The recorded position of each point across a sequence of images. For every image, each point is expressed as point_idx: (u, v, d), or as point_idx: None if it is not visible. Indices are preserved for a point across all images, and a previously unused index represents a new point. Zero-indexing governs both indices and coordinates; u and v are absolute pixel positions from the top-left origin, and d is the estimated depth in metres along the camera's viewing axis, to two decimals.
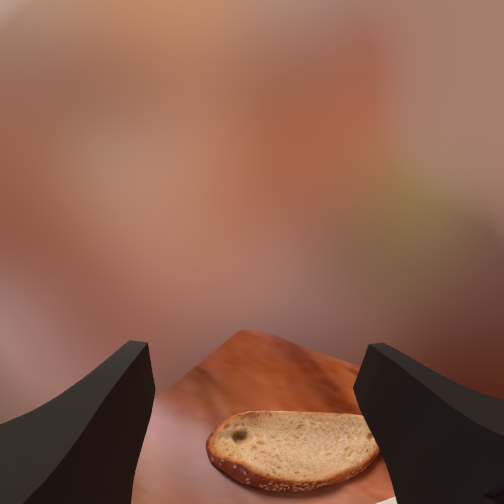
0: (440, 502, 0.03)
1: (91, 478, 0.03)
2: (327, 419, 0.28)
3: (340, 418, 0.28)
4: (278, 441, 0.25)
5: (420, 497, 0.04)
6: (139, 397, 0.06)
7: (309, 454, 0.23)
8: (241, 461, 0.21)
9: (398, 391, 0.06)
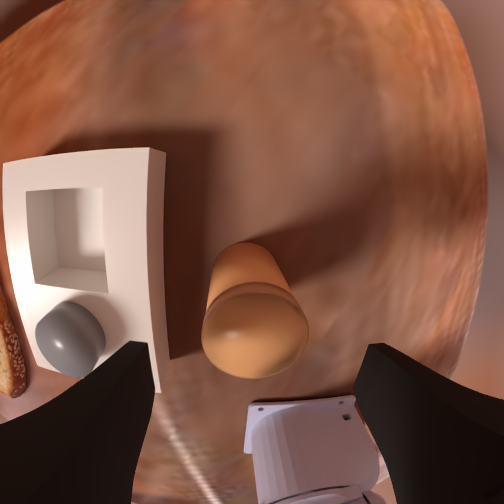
0: (440, 502, 0.03)
1: (91, 478, 0.03)
2: None
3: None
4: None
5: (420, 497, 0.04)
6: (139, 397, 0.06)
7: None
8: (7, 391, 0.16)
9: (398, 391, 0.06)
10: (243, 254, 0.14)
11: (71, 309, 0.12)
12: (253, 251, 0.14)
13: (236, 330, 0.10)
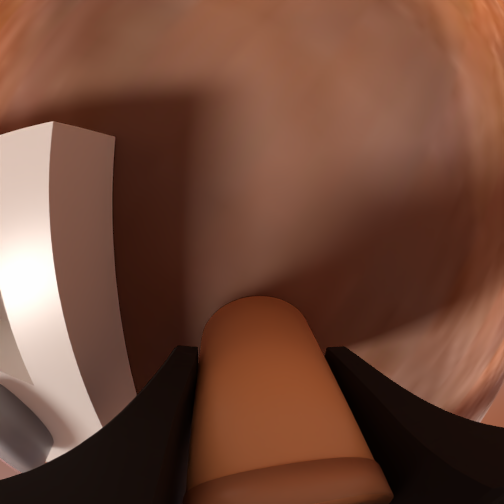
0: None
1: (170, 496, 0.03)
2: None
3: None
4: None
5: None
6: (193, 403, 0.06)
7: None
8: None
9: (352, 400, 0.06)
10: (257, 337, 0.07)
11: None
12: (276, 324, 0.07)
13: None
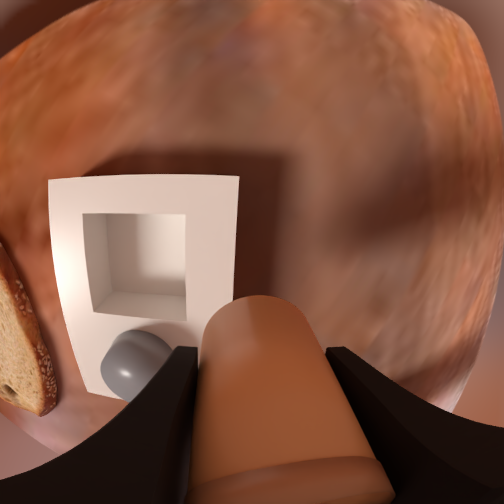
0: None
1: (170, 496, 0.03)
2: None
3: None
4: (2, 366, 0.16)
5: None
6: (193, 403, 0.06)
7: (8, 348, 0.15)
8: (36, 411, 0.17)
9: (352, 400, 0.06)
10: (258, 336, 0.07)
11: (143, 339, 0.13)
12: (277, 324, 0.07)
13: None
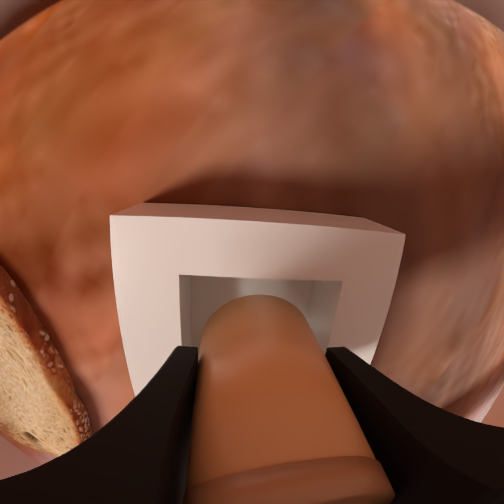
0: None
1: (170, 496, 0.03)
2: None
3: None
4: (23, 417, 0.13)
5: None
6: None
7: (31, 403, 0.12)
8: None
9: (352, 400, 0.06)
10: (257, 335, 0.07)
11: None
12: (276, 323, 0.07)
13: None
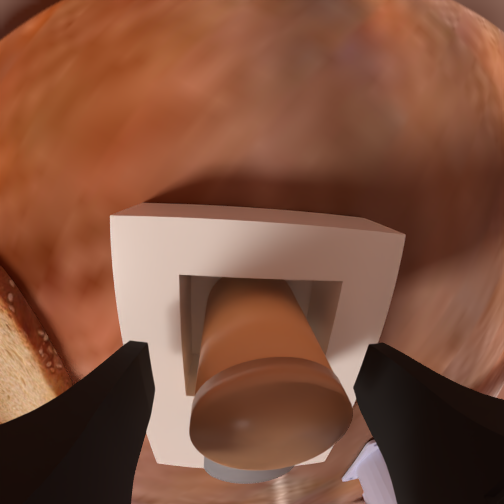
0: (440, 502, 0.03)
1: (91, 478, 0.03)
2: None
3: None
4: None
5: (421, 497, 0.04)
6: (139, 397, 0.06)
7: (30, 402, 0.12)
8: None
9: (398, 391, 0.06)
10: (249, 290, 0.09)
11: None
12: (264, 284, 0.10)
13: (243, 428, 0.05)
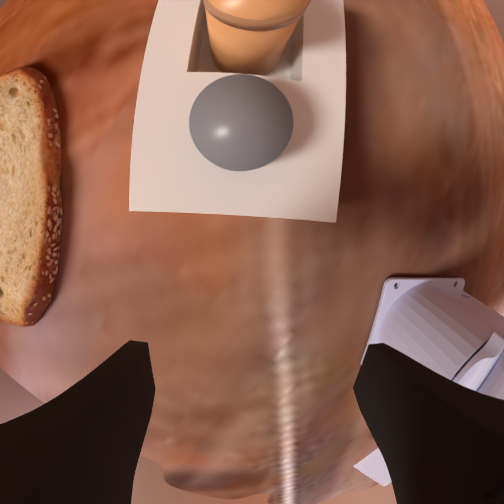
0: (440, 502, 0.03)
1: (91, 478, 0.03)
2: None
3: None
4: None
5: (420, 497, 0.04)
6: (139, 397, 0.06)
7: (9, 203, 0.13)
8: (21, 307, 0.14)
9: (398, 391, 0.06)
10: None
11: None
12: None
13: None
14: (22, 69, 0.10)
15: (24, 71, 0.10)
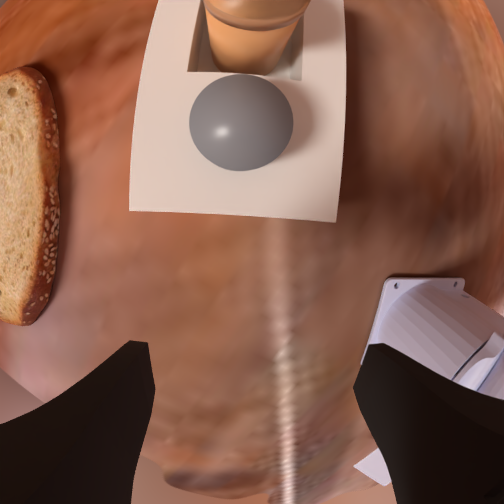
0: (440, 502, 0.03)
1: (91, 478, 0.03)
2: None
3: None
4: None
5: (420, 497, 0.04)
6: (139, 397, 0.06)
7: (7, 203, 0.13)
8: (18, 306, 0.14)
9: (398, 391, 0.06)
10: None
11: None
12: None
13: None
14: (21, 69, 0.10)
15: (23, 71, 0.10)
